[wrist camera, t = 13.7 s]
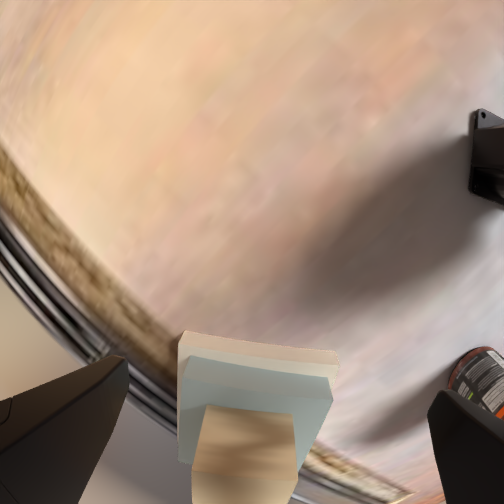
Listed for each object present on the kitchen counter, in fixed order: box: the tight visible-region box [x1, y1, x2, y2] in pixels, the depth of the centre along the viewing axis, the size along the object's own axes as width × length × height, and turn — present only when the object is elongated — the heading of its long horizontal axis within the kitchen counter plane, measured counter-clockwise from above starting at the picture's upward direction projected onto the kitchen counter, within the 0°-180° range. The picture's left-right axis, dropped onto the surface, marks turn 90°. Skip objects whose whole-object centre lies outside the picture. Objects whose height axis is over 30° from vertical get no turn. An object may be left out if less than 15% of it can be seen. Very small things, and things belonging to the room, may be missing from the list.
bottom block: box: [177, 331, 340, 442], centre depth 22 cm, size 11×11×2 cm
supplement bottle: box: [448, 347, 504, 421], centre depth 16 cm, size 6×6×11 cm
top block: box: [178, 355, 333, 473], centre depth 20 cm, size 10×10×2 cm
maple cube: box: [192, 404, 298, 504], centre depth 16 cm, size 6×6×6 cm
